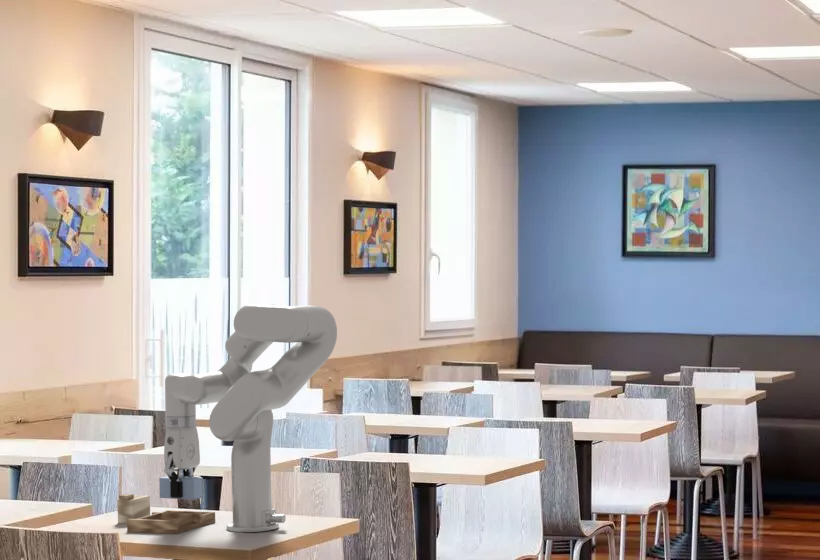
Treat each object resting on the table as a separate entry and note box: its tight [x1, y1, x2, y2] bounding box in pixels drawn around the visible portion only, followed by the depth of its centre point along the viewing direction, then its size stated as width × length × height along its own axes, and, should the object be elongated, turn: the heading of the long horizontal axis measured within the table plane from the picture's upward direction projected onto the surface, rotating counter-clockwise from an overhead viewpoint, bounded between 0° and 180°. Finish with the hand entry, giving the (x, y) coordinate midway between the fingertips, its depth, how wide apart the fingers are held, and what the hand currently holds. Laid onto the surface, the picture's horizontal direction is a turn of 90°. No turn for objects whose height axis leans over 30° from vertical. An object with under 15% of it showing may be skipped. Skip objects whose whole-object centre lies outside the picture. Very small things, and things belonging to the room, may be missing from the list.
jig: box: [126, 509, 216, 535], centre depth 354 cm, size 14×18×3 cm
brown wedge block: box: [116, 493, 151, 525], centre depth 365 cm, size 4×9×7 cm, turn 157°
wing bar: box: [158, 475, 203, 501], centre depth 360 cm, size 10×4×5 cm, turn 67°
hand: (181, 495), depth 360 cm, fingers closed on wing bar, 4 cm apart
